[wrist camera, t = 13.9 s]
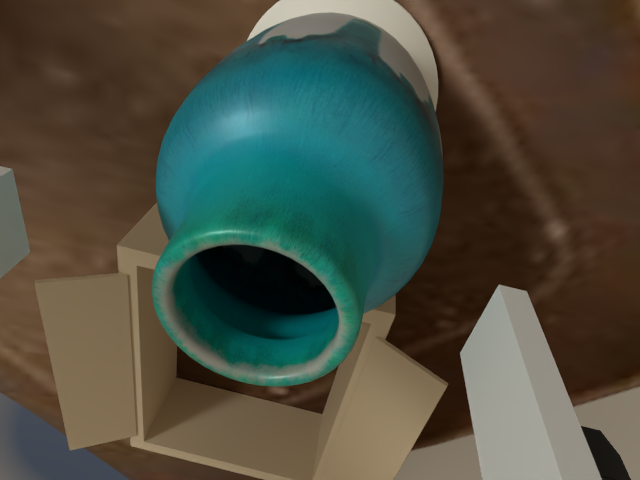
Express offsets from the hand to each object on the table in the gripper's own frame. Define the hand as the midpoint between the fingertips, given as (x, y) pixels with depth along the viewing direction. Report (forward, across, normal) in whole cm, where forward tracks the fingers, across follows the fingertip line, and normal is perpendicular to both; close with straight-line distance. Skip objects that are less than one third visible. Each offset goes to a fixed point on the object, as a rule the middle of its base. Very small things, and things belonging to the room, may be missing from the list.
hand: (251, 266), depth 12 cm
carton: (+18, -1, -21) cm, 28 cm away
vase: (+18, +1, 0) cm, 18 cm away
